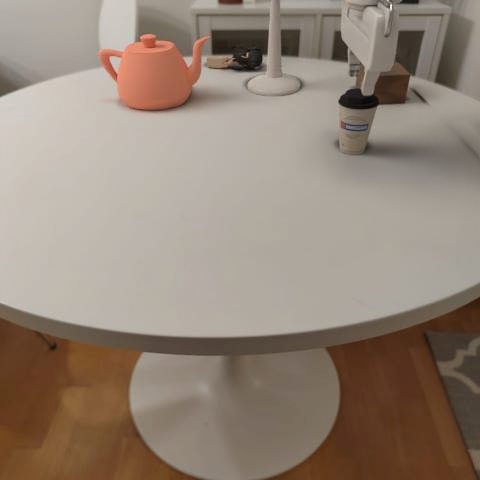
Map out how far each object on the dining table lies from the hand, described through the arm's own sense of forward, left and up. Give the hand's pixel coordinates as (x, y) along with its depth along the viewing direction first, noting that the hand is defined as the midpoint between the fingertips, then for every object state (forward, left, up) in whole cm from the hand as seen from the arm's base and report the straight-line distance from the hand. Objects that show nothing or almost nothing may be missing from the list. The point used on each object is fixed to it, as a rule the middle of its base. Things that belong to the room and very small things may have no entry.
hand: (359, 84), depth 76 cm
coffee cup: (0, 0, -12) cm, 12 cm away
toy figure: (+20, -52, -12) cm, 57 cm away
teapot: (+38, -31, -12) cm, 50 cm away
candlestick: (+11, -36, -12) cm, 39 cm away
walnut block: (-12, -26, -11) cm, 31 cm away
